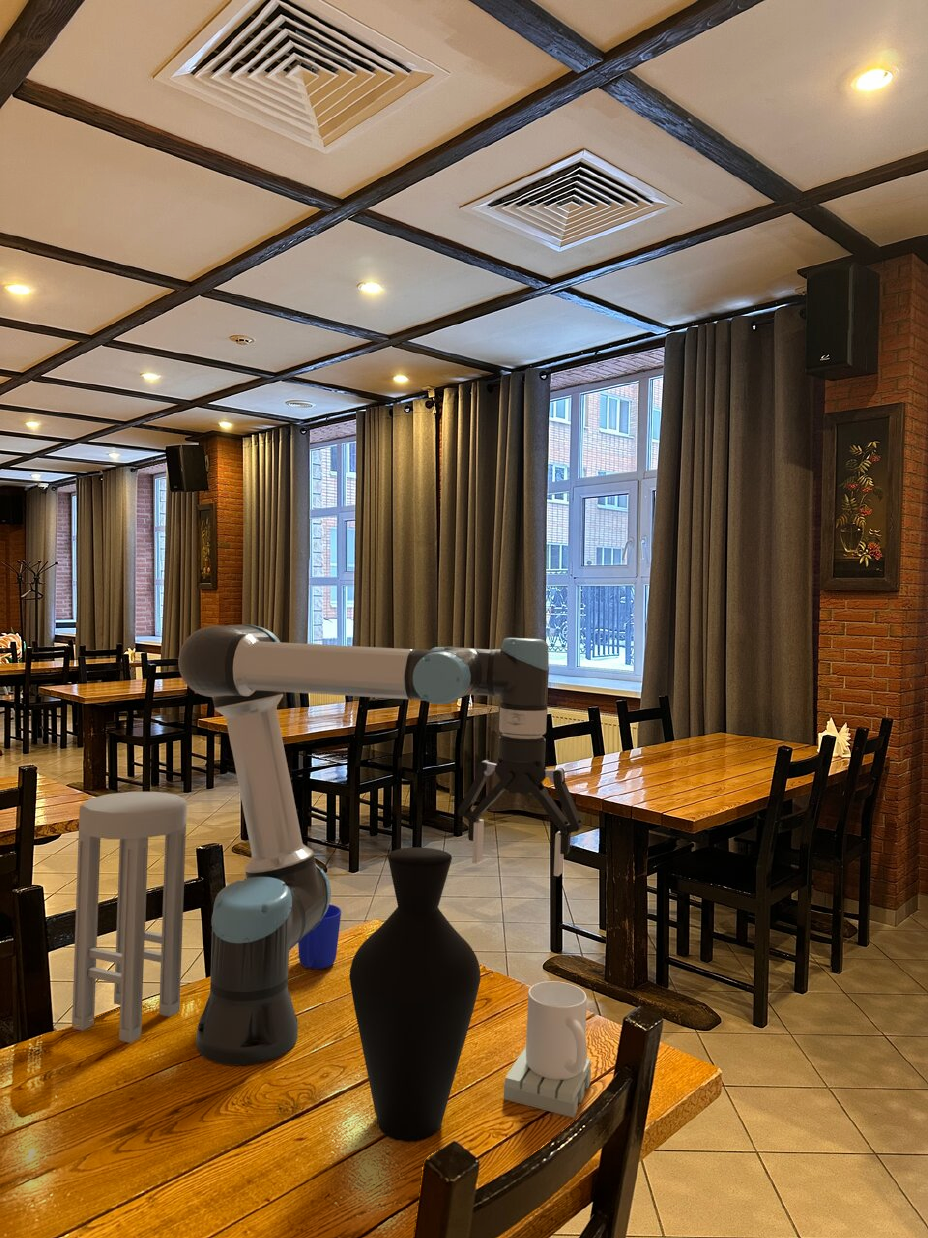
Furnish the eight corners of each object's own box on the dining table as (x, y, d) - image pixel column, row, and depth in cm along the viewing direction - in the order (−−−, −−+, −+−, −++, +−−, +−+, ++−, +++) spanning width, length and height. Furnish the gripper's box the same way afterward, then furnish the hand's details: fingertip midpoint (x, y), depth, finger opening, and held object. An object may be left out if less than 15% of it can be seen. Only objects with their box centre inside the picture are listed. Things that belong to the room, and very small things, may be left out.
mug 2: (608, 1090, 115) (611, 1015, 114) (554, 1101, 112) (557, 1023, 111) (566, 1047, 126) (568, 978, 126) (515, 1056, 123) (518, 985, 123)
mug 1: (280, 979, 152) (282, 924, 152) (304, 953, 164) (306, 901, 164) (324, 984, 151) (326, 928, 151) (344, 957, 163) (346, 905, 162)
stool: (122, 990, 145) (129, 787, 145) (197, 1008, 140) (205, 797, 140) (51, 1031, 131) (58, 805, 130) (131, 1052, 125) (140, 817, 125)
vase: (355, 1082, 120) (364, 836, 120) (475, 1089, 119) (485, 841, 119) (332, 1160, 103) (343, 873, 103) (473, 1168, 102) (484, 880, 102)
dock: (502, 1100, 117) (503, 1077, 117) (525, 1065, 126) (525, 1044, 126) (573, 1119, 113) (574, 1095, 113) (590, 1081, 122) (591, 1059, 122)
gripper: (441, 730, 136) (436, 862, 136) (593, 745, 127) (588, 886, 127) (459, 725, 143) (454, 850, 143) (604, 739, 134) (599, 872, 134)
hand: (517, 867), depth 135 cm, fingers open, 13 cm apart
